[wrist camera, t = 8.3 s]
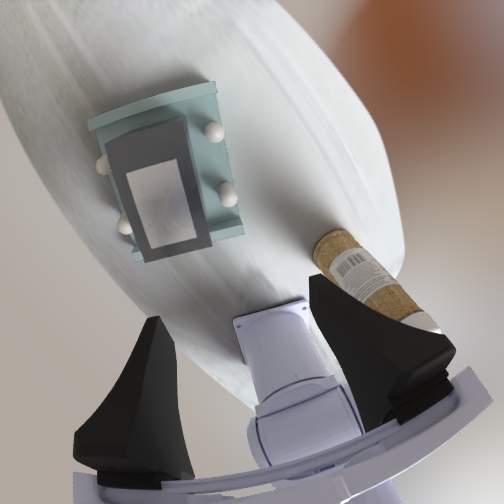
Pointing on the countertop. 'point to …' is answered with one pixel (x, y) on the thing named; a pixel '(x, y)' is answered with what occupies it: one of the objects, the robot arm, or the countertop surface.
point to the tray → (203, 144)
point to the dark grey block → (160, 188)
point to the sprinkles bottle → (368, 280)
